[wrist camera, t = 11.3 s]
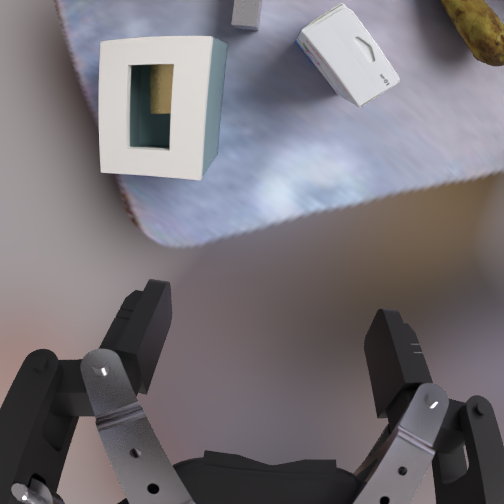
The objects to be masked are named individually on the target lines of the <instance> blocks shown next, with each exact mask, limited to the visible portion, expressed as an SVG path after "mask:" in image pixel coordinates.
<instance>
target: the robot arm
mask: <svg viewBox="0 0 504 504" xmlns="http://www.w3.org/2000/svg"><path fill="white" fill-rule="evenodd" d="M171 319H172V304H171V287H170V283H169V282H167V281H160V280H154V279H150V280H149V281H148V283H147V285H146V287H145V289H144V291H138V290H135V291H134V292H132V293H131V294H130V295H129V296H128V297H126V298H125V300H124V302H123V304H122V305H121V308H120V310H119V311H118V313H117V315H116V318H114V320H113V322H112V324H111V326H110V328H109V330H108V332H107V334H106V336H105V338H104V340H103V342H102V343H101V345H100V347H99V349H96V350H93V351H91V352H89V353H88V354H86V355H85V356H84V358H83V359H79V360H58V358H57V356H56V355H55V354H54V353H53V352H52V351H50V350H47V349H39V350H36V351H33V352H32V353H30V354H29V355H28V356H27V357H26V359H25V360H24V362H23V364H22V366H21V368H20V370H19V371H18V373H17V375H16V377H15V379H14V381H13V383H12V385H11V387H10V389H9V391H8V394H7V396H6V398H5V400H4V402H3V404H2V407H1V408H0V504H65V503H64V501H63V499H62V498H61V497H60V495H58V494H57V493H56V492H57V488H58V484H59V481H60V477H61V473H62V470H63V466H64V463H65V460H66V456H67V453H68V450H69V446H70V443H71V440H72V437H73V434H74V431H75V428H76V425H77V422H78V419H79V416H95V418H96V426H97V430H98V432H99V435H100V438H101V440H102V443H103V445H104V448H105V450H106V453H107V455H108V458H109V460H110V463H111V465H112V467H113V470H114V472H115V474H116V476H117V479H118V481H119V483H120V485H121V487H122V489H123V491H124V494H125V496H126V498H125V499H124V500H122V501H121V502H119V503H118V504H410V503H411V501H412V499H413V497H414V495H415V494H416V492H417V490H418V488H419V486H420V484H421V482H422V480H423V478H424V476H425V474H426V472H427V470H428V468H429V466H430V464H431V462H432V469H433V477H434V485H435V495H436V504H504V446H503V442H502V439H501V435H500V431H499V428H498V424H497V421H496V417H495V414H494V411H493V408H492V406H491V404H490V403H489V401H488V400H487V399H485V398H484V397H481V396H477V395H476V396H472V397H471V398H469V400H468V401H467V402H466V403H464V402H459V401H456V400H452V399H449V398H448V396H447V394H446V392H445V391H444V390H443V389H442V388H441V387H440V386H438V385H436V384H433V382H432V379H431V376H430V373H429V370H428V367H427V364H426V361H425V358H424V355H423V354H422V350H421V347H420V345H419V342H418V339H417V336H416V333H415V332H414V331H413V330H412V329H411V327H410V326H409V325H408V324H405V323H403V321H402V318H401V315H400V313H399V311H398V310H391V309H379V310H378V311H377V313H376V315H375V317H374V319H373V322H372V324H371V326H370V328H369V330H368V332H367V334H366V337H365V342H364V351H365V356H366V361H367V366H368V370H369V375H370V380H371V385H372V391H373V396H374V401H375V407H376V413H377V418H388V422H389V423H388V424H387V426H386V427H385V429H384V430H383V432H382V433H381V435H380V437H379V438H378V440H377V441H376V443H375V445H374V446H373V448H372V449H371V451H370V452H369V454H368V455H367V457H366V458H365V460H364V461H363V462H362V464H361V465H360V466H359V467H358V468H357V469H356V470H355V472H354V473H353V474H352V473H350V472H348V471H346V470H343V469H341V468H337V467H336V460H301V461H295V462H290V463H285V464H279V465H268V464H264V463H261V462H258V461H255V460H252V459H249V458H246V457H243V456H240V455H236V454H228V453H220V452H213V451H207V450H206V451H205V452H204V457H202V458H193V459H188V460H185V461H181V462H179V463H176V464H174V465H172V464H171V462H170V460H169V459H168V457H167V455H166V453H165V452H164V450H163V448H162V446H161V444H160V442H159V440H158V438H157V437H156V435H155V432H154V430H153V428H152V426H151V424H150V422H149V420H148V418H147V416H146V414H145V412H144V410H143V408H142V407H141V406H140V404H139V402H138V400H137V398H136V397H137V394H138V393H142V394H147V392H148V389H149V386H150V383H151V380H152V377H153V374H154V371H155V368H156V365H157V363H158V359H159V357H160V354H161V351H162V348H163V345H164V342H165V340H166V336H167V334H168V331H169V328H170V324H171ZM464 445H466V450H467V455H468V461H469V468H468V470H467V465H466V460H465V454H464V449H463V446H464Z"/></svg>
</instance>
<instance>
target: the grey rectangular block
mask: <svg viewBox="0 0 504 504" xmlns="http://www.w3.org/2000/svg"><path fill="white" fill-rule="evenodd" d="M261 6H262V0H234V7H233V15H232V23H231V25H232V26H233V27H234V28H235V29H244V30H256V31H258V30H259V22H260V14H261Z"/></svg>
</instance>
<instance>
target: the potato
mask: <svg viewBox="0 0 504 504" xmlns="http://www.w3.org/2000/svg"><path fill="white" fill-rule="evenodd" d="M441 4H442V6H443V7H444V9H445V10H446V12H447V14H448V16H449V17H450V19H451V21H452V23H453V24H454V26H455V27H456V29H457V30H458V32H459V33H460V35H461V36H462V38H463V39H464V41H465V43H466V44H467V46H468V48H469V49H470V50H471V52H472V53H473V56H474V57H475V58H476V59H477V60H478V61H481V62H483V63H486V64H488V65H491V66H502V65H504V25H503V23H502V22H501V21H500V20H499V18H498V16H497V15H496V14H495V13H494V12H493V10H492V9H491V8H490V7H489V6H488V5H487V3H486V2H485V1H484V0H441Z"/></svg>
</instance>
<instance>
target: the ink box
mask: <svg viewBox="0 0 504 504" xmlns="http://www.w3.org/2000/svg"><path fill="white" fill-rule="evenodd" d="M295 42H296V43H297V44H298V45H299V47H300V48H301V49H302V50H303V51H304V53H305V54H306V55H307V56H308V58H309V59H310V60H311V61H312V62H313V64H314V65H315V66H316V67H317V69H318V70H319V71H320V72H321V74H322V75H323V76H324V77H325V79H326V80H327V81H328V83H329V84H330V85H331V87H332V88H333V89H334V91H335V92H336V94H337V95H339V96H341V97H343V98H344V99H346V100H348V101H350V102H351V103H353V104H355V105H356V106H358V107H359V108H360V107H362V106H364V105H365V104H367V103H368V102H370V101H371V100H373V99H374V98H376V97H377V96H379V95H380V94H382V93H384V92H385V91H387V90H388V89H390V88H391V87H393V86H394V85H396V84H397V83H399V81H400V79H399V77H398V75H397V73H396V72H395V70H394V69H393V67H392V66H391V64H390V63H389V61H388V60H387V58H386V57H385V55H384V54H383V52H382V51H381V49H380V48H379V46H378V45H377V43H376V42H375V41H374V39H373V38H372V36H371V35H370V34H369V32H368V31H367V30H366V28H365V27H364V26H363V24H362V23H361V22H360V20H359V19H358V18H357V17H356V15H355V14H354V12H353V11H352V10H351V9H349V8H347V7H346V6H345V5H344V4H342V3H341V4H339V5H337V6H335V7H334V8H332V9H331V10H329V11H327V12H326V13H324V14H323V15H321V16H320V17H318V18H317V19H315V20H314V21H312V22H311V23H310V24H309V25H307V26H306V27H305V28H303V29H302V30H301V33H300V34H299V35H298V37H297V39H296V40H295Z"/></svg>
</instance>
